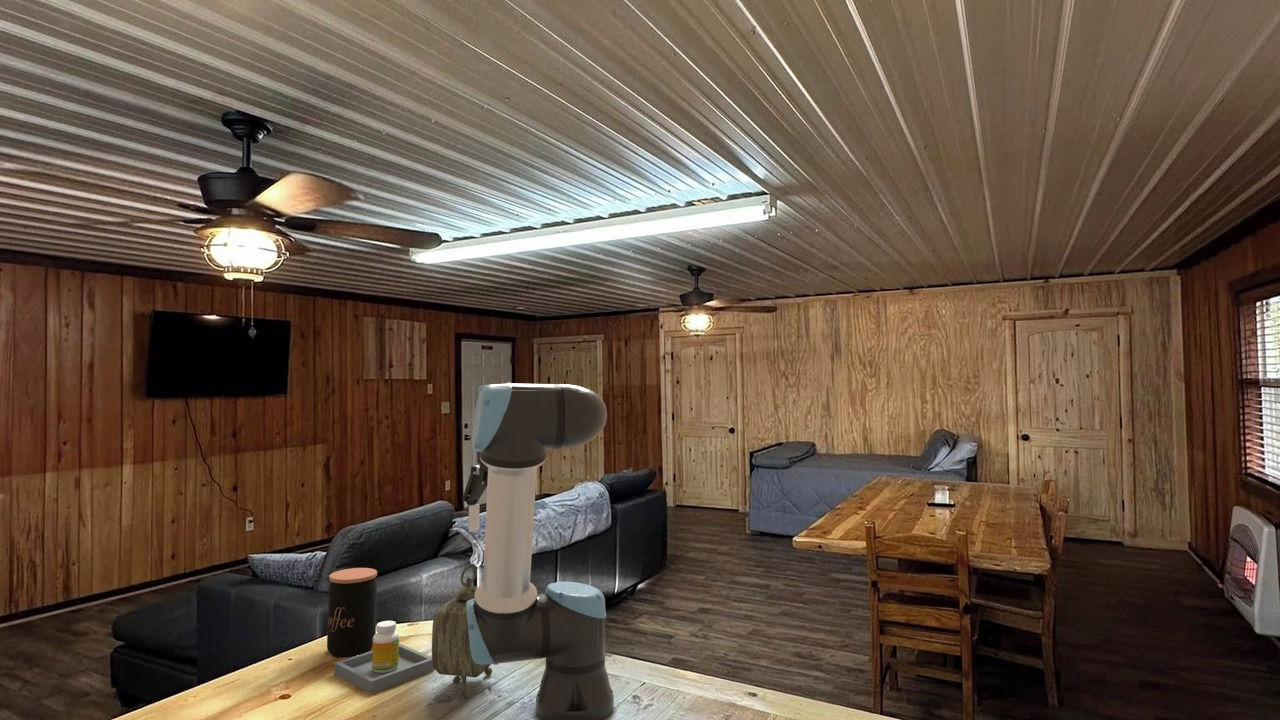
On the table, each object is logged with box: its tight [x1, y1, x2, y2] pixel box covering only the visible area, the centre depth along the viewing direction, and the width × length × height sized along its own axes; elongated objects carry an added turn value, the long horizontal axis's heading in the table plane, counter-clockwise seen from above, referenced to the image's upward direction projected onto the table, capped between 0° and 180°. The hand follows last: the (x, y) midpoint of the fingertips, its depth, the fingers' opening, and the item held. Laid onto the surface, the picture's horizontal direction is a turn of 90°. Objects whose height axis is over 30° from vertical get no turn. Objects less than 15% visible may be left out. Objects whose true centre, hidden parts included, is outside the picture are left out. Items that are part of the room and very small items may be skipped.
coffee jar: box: [326, 567, 378, 658], centre depth 157 cm, size 11×11×18 cm
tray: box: [333, 643, 436, 695], centre depth 144 cm, size 15×15×2 cm
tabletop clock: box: [431, 563, 493, 698], centre depth 138 cm, size 14×9×25 cm, turn 168°
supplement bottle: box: [372, 620, 400, 673], centre depth 144 cm, size 5×5×10 cm
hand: (491, 534), depth 160 cm, fingers open, 13 cm apart
